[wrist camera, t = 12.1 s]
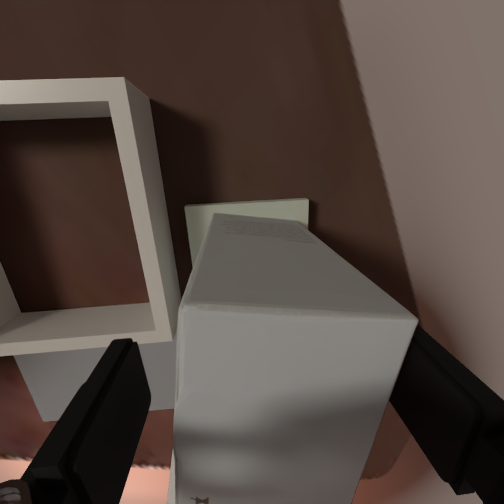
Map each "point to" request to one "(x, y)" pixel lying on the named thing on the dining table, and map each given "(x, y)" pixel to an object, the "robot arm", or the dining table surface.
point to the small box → (279, 367)
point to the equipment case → (149, 242)
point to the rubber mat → (202, 214)
